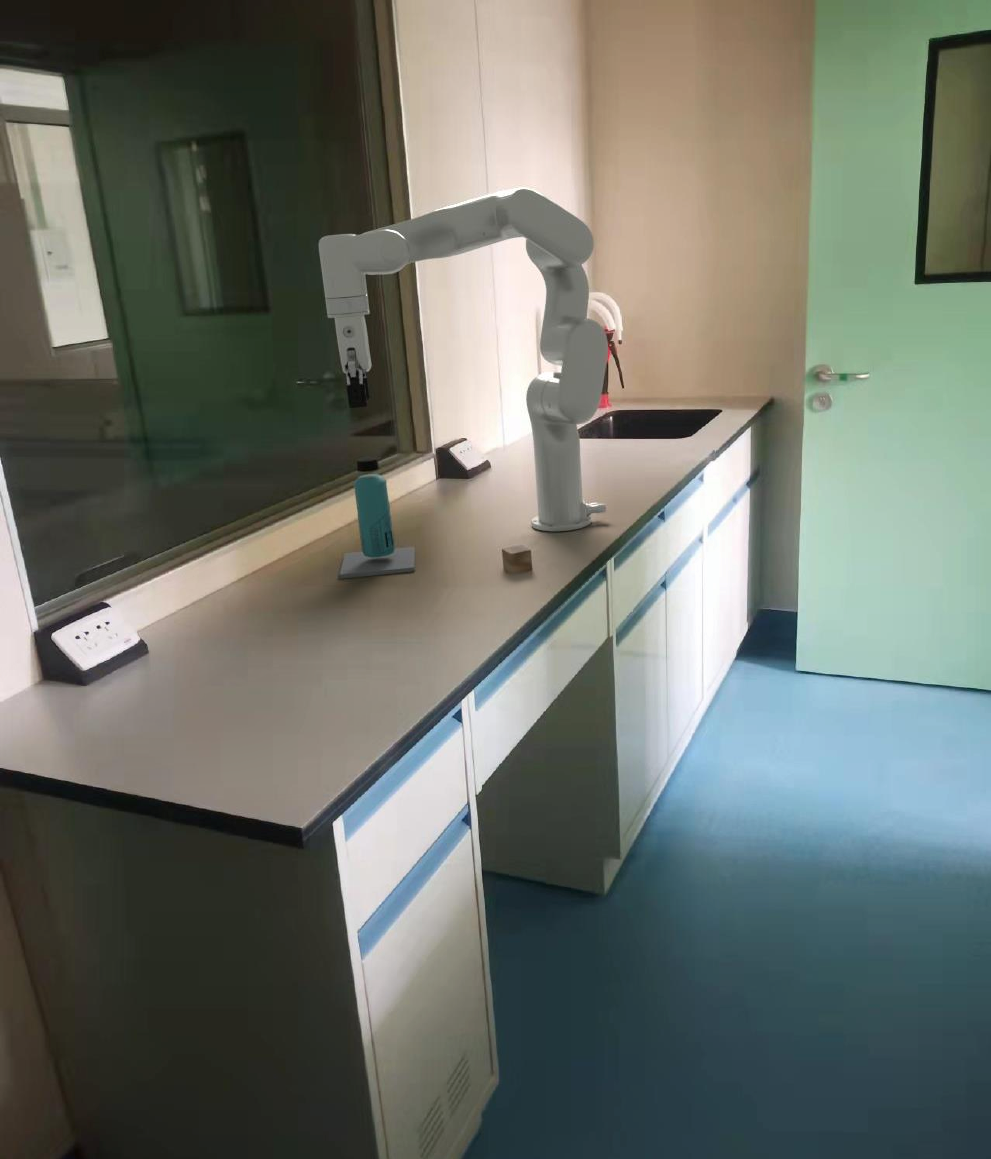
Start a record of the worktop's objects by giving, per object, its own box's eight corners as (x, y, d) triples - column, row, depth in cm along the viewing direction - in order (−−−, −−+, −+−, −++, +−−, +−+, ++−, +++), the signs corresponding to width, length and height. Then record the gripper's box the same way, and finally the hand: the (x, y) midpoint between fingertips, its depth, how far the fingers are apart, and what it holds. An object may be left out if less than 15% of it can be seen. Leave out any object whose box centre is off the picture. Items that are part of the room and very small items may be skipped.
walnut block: (522, 565, 184) (521, 544, 183) (532, 570, 180) (530, 549, 179) (503, 569, 182) (501, 548, 181) (512, 574, 179) (511, 553, 178)
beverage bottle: (390, 564, 188) (378, 461, 181) (357, 565, 189) (344, 462, 183) (400, 554, 194) (389, 454, 187) (368, 555, 195) (356, 455, 189)
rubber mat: (414, 550, 199) (414, 546, 198) (414, 571, 185) (414, 567, 185) (345, 557, 198) (344, 553, 198) (340, 578, 185) (339, 574, 184)
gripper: (366, 308, 168) (378, 408, 174) (370, 303, 185) (381, 395, 190) (322, 312, 168) (335, 412, 173) (330, 307, 184) (342, 398, 190)
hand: (359, 403), depth 182 cm, fingers open, 9 cm apart
